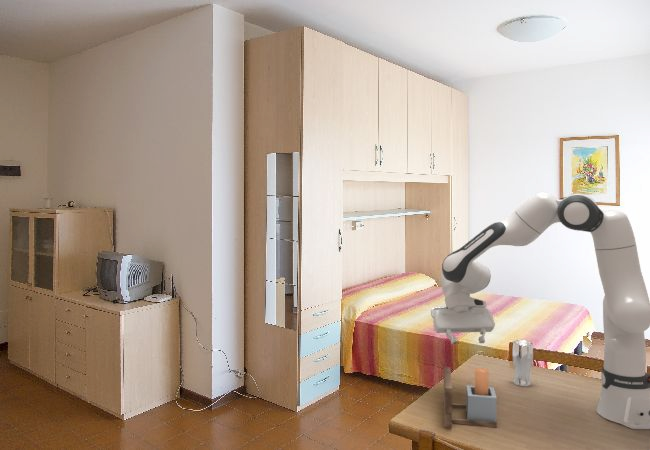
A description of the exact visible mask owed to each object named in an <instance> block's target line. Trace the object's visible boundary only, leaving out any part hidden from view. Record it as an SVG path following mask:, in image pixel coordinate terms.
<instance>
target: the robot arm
mask: <svg viewBox="0 0 650 450" xmlns="http://www.w3.org/2000/svg"><path fill="white" fill-rule="evenodd" d="M556 223H561V224H562V226H564V227H565V228H567V229H568V230H573V231H577V232H579V231H581V232H587V233H590V234H591V237H592V241H593V245H594V246H593V247H594V251H595V257H596V262H597V268H598V273H599V276H600V281H601V285H602V288H603V292H604V293H603V294H604V296H603V301H602V322H603V338H604V339H603V341H604V348H603V366H602V368H601V376H600V377H601V378H600V382H601V392H600V398H599V400H598V405H597V407H596V413H597V414H598V415H599V416H601V417H602V418H604V419H606V420H609V421H612V422H614V423H618V424H620V425H623V426H625V427H627V428H630V429H632V430H650V374H649V373H648V372H647V371H646V368H647V367H646V366H647V365H646V361H647V345H646V340H645V339H646V338H645V331H647V330H648V329H649V328H650V297H649V293H648V290H647V286H646V283H645V280H644V276H643V272H642V270H641V269H642V268H641V264H640V257H639V253H638V249H637V248H638V246H637V242H636V241H637V240H636V238H635V234H634V231H633V227H632V225H631V222H630V220H629V217H628V215H627V214H625V213H624V212H623V211H620V210H615V209H614V210H612V209H610V210H602V209H601V208H599V206H598V204H597V202H596V201H595V200H594V198H592V197H591V196H590V195H587V194H585V193H573V194H569V195H568V196H565V197H561V198H557V197H555V196H554V195H552V194H550V193H548V192H546V191H545V192H544V191H541V192H538V193H535V194H534V195H532V196H530V197H529V198H528V199H527V200H526V201H524V202H523V203H522V204H521V205H520V206H519V207H518V208H516V210H514V211H513V212H512V213H511V214H509V216H507V217H506V218H505V217H504V219H502V220H499V221H498V222H493V223H491V224H490V225H488V226H486V227H485V228H484V229H483V230H481V231H480V232H479V233H478V234H476V235H475V236H474V237H473V238H471V239H470V240H469V241H468V242H466V243H465V244H463V246H461V247H460V248H458V249H456V250H455V251H452V252H450V253H449V254H448V255H447V256H446V257H445V258H444V259H443V261H442V264H441V272H440V286H441V290H442V293H443V295H444V305H445V306H434V307H433V308H432V309H431V310H430V314H431V317H432V319H433V321H432V322H433V330H434V332H436V333H437V334H445V336H446V337H447V338H448V339H449V340H450V344H451V345H456V344H457V343H458V342H457V337H456V336H453V334H454V333H479V334H480V335H481V336H479V337H478V344H485V342H486V339H485V335H486V333H490V332H492V331H493V330H494V329H495V327H496V322H495V320H494V317H493V315H492V313H491V311H490V310H489V309H488V308H487V302H486V300H482V299H478V298H474V297H472V296H471V295H472V294H476V293H478V292H480V291H483V290H484V289H486V288H487V287H488V286H489V284H490V282H491V277H492V276H491V271H490V269H489V267H488V266H485V265H484V264H482V263H481V262H478V261H476V259H478V258H479V257H480V256H482V255H483V254H484V253H485V252H487V251H488V250H490V249H491V248H494V247H496V246H513V247H525V246H528V245H530V244H531V243H533V242H534V241H536V239H538V238H539V237H540V236H541V235H542V234H543V233H544V232H545V231H546V230H547V229H548V228H549V227H552V225H553V224H556ZM452 333H453V334H452Z"/></svg>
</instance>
